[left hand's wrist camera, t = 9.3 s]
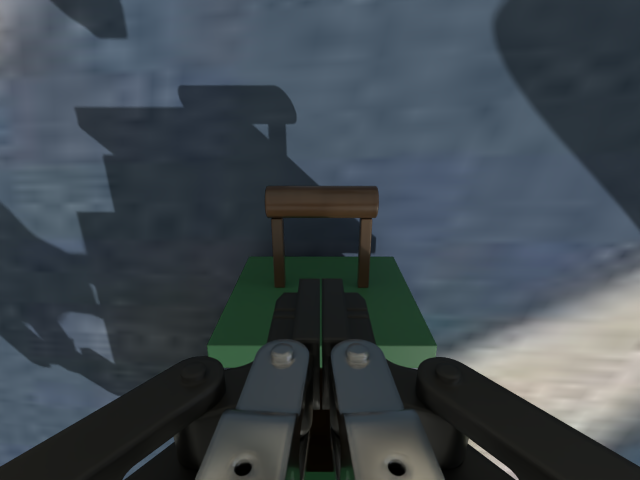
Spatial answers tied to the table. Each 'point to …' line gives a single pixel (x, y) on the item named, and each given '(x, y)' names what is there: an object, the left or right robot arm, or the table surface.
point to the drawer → (357, 274)
